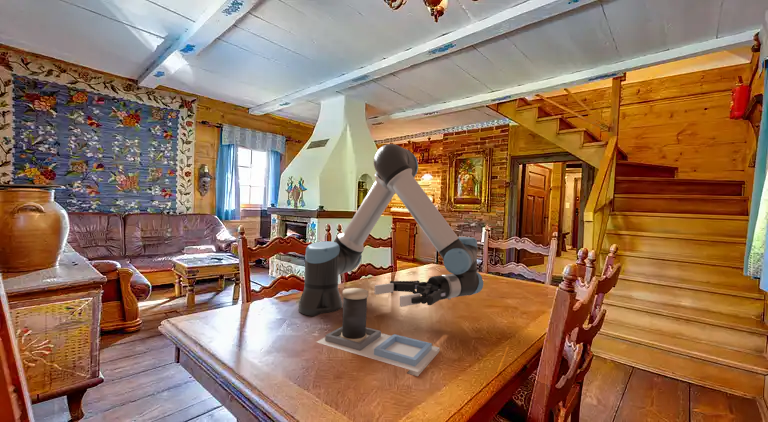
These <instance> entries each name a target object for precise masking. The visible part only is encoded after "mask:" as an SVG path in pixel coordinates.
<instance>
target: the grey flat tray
mask: <svg viewBox="0 0 768 422" xmlns="http://www.w3.org/2000/svg"><path fill="white" fill-rule="evenodd" d="M341 333H342V326H340V327H338V328H337V329H334V330H333V331H331V332H329V333H326V335H324V337H322V338H320V339H319V340H317V341H315V343H318V344H320V345H325V346H328V347H330V348H334V349H336V350H337V349H338V350H342V351H344V352H347V353H351V354H354V355H358V356H360V357H366V358H369V359H372V360H375V361H379V362H382V363H385V364H389V365H392V366H396V367H398V368H403V369H406V370H408V371H407V372H406V374H409V375H412V376H415V377H419V376H420V374H421V373H422V372H423V371H424V370H425V369H426V367H427V366H428V365H429V364H430V363H431V362H432V361H433V359H434V358H435V357H436V356H437V355H438V354H439V352H440V350H441V349H440V346H439V347H438V346H435V345H433V343H431V342H428V341H423V340H420V339H416V338H412V337H407V336H404V335H401V334H400V335H399V334H396V333H394V334H392V335H391V334H387V333H382V331H381V330H380V329H379V330H378V329H376V328H370V327H367V326H366V334H367V338H365V339H364V340H362V341H361V342H355V341H351V340H348V339H344V338H341Z"/></svg>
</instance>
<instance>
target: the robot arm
mask: <svg viewBox="0 0 768 422" xmlns="http://www.w3.org/2000/svg"><path fill="white" fill-rule="evenodd" d="M373 167H374V170H375V173H374V178H375V181H374V183H373V184H372V186H371V187H370V189H369V191H368V192H367V194H366V196H365V197H364V198H363V200H362V202H361V204H360V206H359V207H358V208H357V211H355V213H354V215H353V217H352V218H351V220H350V222H349V223H348V225H347V226H346V228H345V229H344V231H343V232H339V233H337V236H336V237H335V239H334V241H330V240H329V241H326V240H325V241H323V240H322V241H316V242H313V243H310V244H308V245H307V247H306V248H305V254H304V285H303V286H304V288H303V290H302V294H301V296H300V300H299V302H298V312H299V313H300V314H302V315H305V316H310V317H317V316H319V315H321V314H330V313H334V312H338V311H339V310H341V309H343V300H342V298H341V293H340V290H339V276H340V275H343V274H345V273H348V272H351V271H353V270H355V268H357V267H358V266H359V265H360V262H361V261H362V254H363V252H364V250H365V247H364V243H365V242H366V240H367V239H368V237H369V235H371V232H372V231H373V229H374V228H375V226H376V224H377V223H378V221H379V219H380V218H381V216H382V214H383V213H384V211H385V210H386V209H387V207H388V205H389V204H390V203H391V201H392V199H393V198H394V196H395V194H396V195H397V197H398V198H399V199H400V201H401V202H402V204H403V205H404V206H405V208H406V209H407V210H408V213H409V214H410V215H411V216H412V218H413V219H414V221H415V222H416V223H417V225H418V226H419V227H420V229H421V230H422V231H423V233H424V234H425V235H426V237H427V238H428V240H429V241H430V243H431V245H432V246H433V247H434V248H435V249H436V252H438V254H439V255H440V256H441V258H442V260H443V266H444V268H445V270H446V271H448V272H449V274H447V273H446V274H441V275H434V276H430V277H429V278H428V280H427V281H421V282H420V280H419V279H418V280H406V281H405V280H389V282H388V283H383V284H382V283H381V284H375V285H374V295H384V294H389V293H391V294H394V292H405V293H406V292H408V293H411V294H406V295H404V294H403V295H400V296H399V307H408V306H412V305H413V306H414V305H419V304H421V305H425V304H426V305H427V306H432V305H434V304H436V303H438V302H439V301H441V300H442V301H443V300H446V299H447V300H451V299H452V298H458V297H464V296H472V295H476V294H478V293H480V292H481V291H482V290H483V288H484V280H483V276H482V275H481V274H480V272H478V270H477V268H478V267H477V263H478V249H479V248H478V240H477V238H476V237H470V236H458V235H457V234H456V232H455V231H454V230H453V229H452V227H451V226H450V224H449V223H448V222H447V220H446V219H445V217H444V216H443V215H442V214H441V212H440V211H439V209H438V208H437V207H436V205H435V203H434V202H433V201H432V200H431V199H430V197H429V196H428V195H427V194H426V191H425V190H424V189H423V188H422V186H421V185H420V184H419V182H418V181H417V180H416V179H415V177H416V175H417V174H418V171H419V162H418V159H417V157H416V156H415V154H413V152H411V151H410V150H409V149H406V148H404V147H402V146H400V145H397V144H396V143H395V144H394V143H387V144H384V145H382V146H380V147H379V148H378V149H377V150H376V153H375V154H374V156H373Z"/></svg>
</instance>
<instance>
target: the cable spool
mask: <svg viewBox="0 0 768 422" xmlns="http://www.w3.org/2000/svg"><path fill="white" fill-rule="evenodd" d="M342 297H343V298H342V299H343V300H342V324H341V325H342V326H341V327H342V333H341V338H344V339H348V340H351V341H355V342H361V341H362V340H364V339H365V338H367V334H366V327H367V312H368V311H367V309H368V304H367V303H368V297H369V290H368V289H365V288H361V287H360V288H359V287H358V288H357V287H350V288H345V289H343V290H342Z"/></svg>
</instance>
